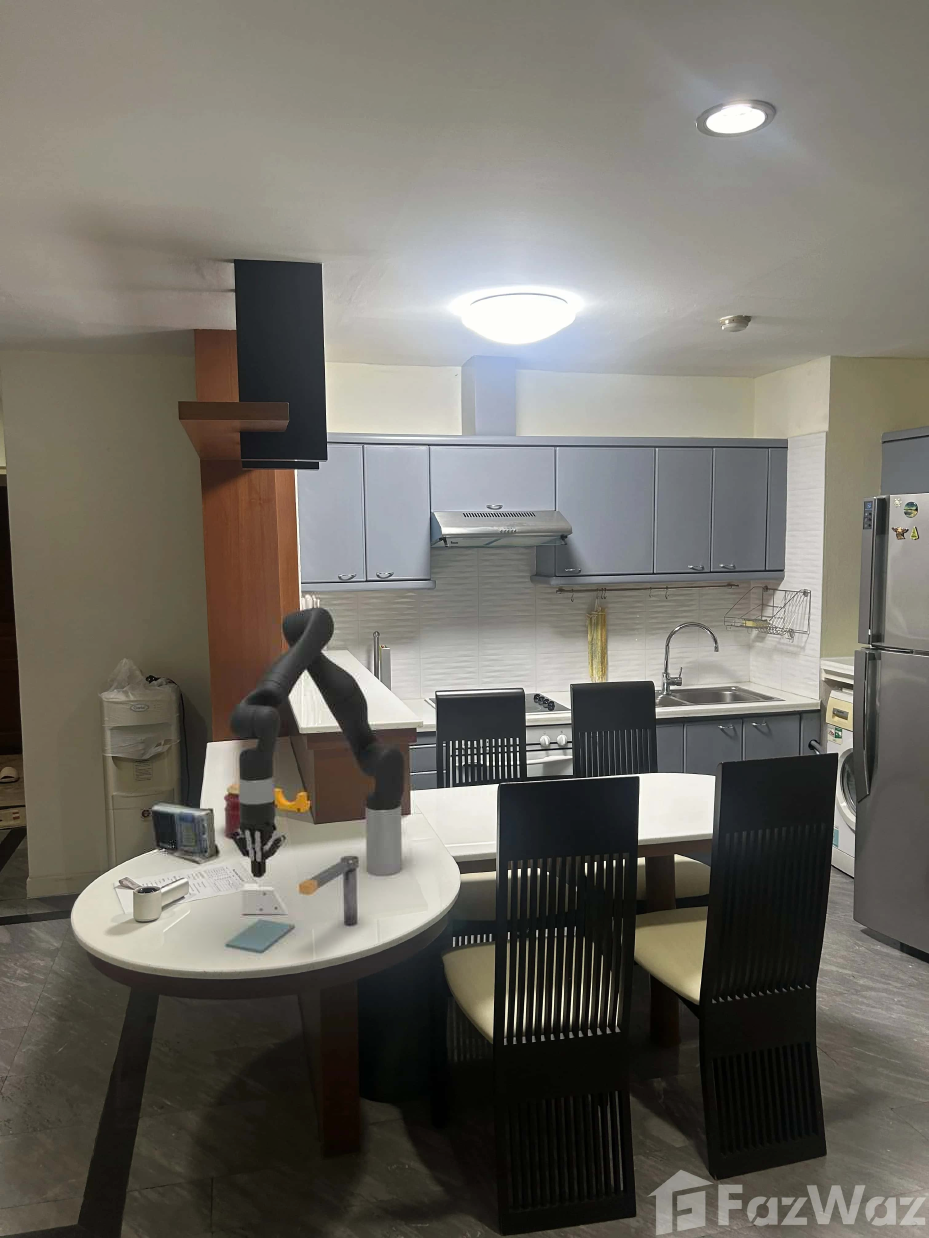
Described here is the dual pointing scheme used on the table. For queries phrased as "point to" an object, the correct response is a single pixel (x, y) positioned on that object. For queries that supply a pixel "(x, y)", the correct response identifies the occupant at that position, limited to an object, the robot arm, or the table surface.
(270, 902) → the white angled block
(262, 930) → the slate mat
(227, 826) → the canister
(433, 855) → the table surface
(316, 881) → the grey and orange bar
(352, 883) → the post
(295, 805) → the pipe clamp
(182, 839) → the radio
